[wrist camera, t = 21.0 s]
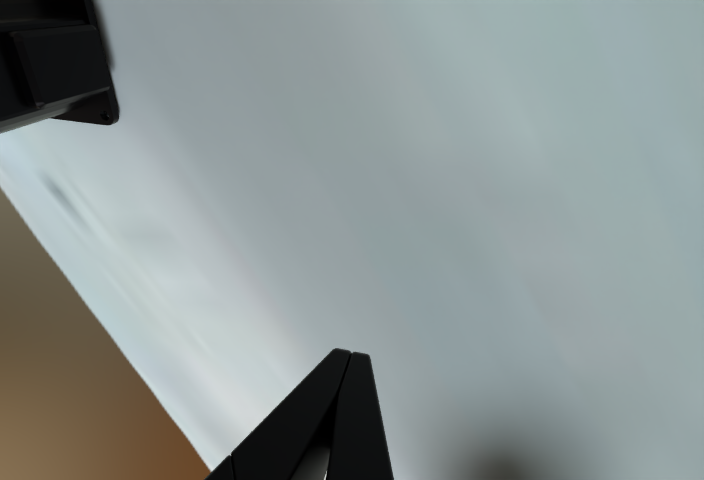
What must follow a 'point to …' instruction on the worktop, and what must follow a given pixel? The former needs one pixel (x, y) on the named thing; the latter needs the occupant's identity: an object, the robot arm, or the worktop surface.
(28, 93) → the robot arm
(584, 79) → the worktop surface
